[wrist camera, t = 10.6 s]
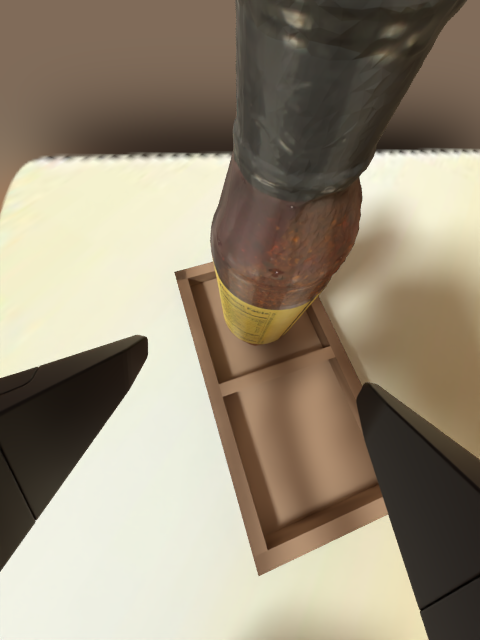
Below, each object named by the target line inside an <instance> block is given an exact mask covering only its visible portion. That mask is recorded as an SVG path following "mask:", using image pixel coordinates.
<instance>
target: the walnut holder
mask: <svg viewBox="0 0 480 640" xmlns="http://www.w3.org/2000/svg"><path fill="white" fill-rule="evenodd" d="M175 276H176V280H177V283H178V287H179V290H180V294H181V298H182V301H183V305H184V309H185V312H186V316H187V319H188V323H189V327H190V330H191V334H192V337H193V341H194V345H195V348H196V352H197V355H198V359H199V363H200V366H201V370H202V373H203V377H204V381H205V384H206V388H207V391H208V395H209V399H210V402H211V406H212V410H213V413H214V417H215V420H216V424H217V428H218V431H219V435H220V438H221V442H222V446H223V449H224V453H225V456H226V460H227V464H228V467H229V471H230V474H231V478H232V482H233V485H234V489H235V492H236V496H237V500H238V503H239V507H240V511H241V514H242V518H243V521H244V525H245V529H246V532H247V536H248V539H249V543H250V547H251V550H252V554H253V557H254V561H255V565H256V568H257V572H258V575H259V576H260V575H262V574H264V573H266V572H268V571H271V570H273V569H275V568H277V567H279V566H281V565H283V564H285V563H287V562H289V561H291V560H294V559H296V558H298V557H300V556H302V555H304V554H306V553H308V552H310V551H312V550H314V549H317V548H319V547H321V546H323V545H325V544H327V543H329V542H331V541H333V540H335V539H337V538H340V537H342V536H344V535H346V534H348V533H350V532H352V531H354V530H356V529H358V528H360V527H363V526H365V525H367V524H369V523H371V522H373V521H375V520H377V519H379V518H381V517H383V516H386V515H388V512H387V509H386V506H385V503H384V499H383V496H382V493H381V490H380V487H379V484H378V481H377V478H376V475H375V472H374V469H373V466H372V462H371V459H370V456H369V453H368V450H367V447H366V444H365V440H364V436H363V432H362V428H361V423H360V418H359V414H358V409H357V404H356V398H357V396H358V394H359V392H360V390H361V388H362V385H361V383H360V381H359V379H358V377H357V375H356V373H355V371H354V369H353V367H352V365H351V362H350V360H349V358H348V356H347V354H346V352H345V350H344V348H343V346H342V344H341V342H340V340H339V338H338V336H337V334H336V331H335V329H334V327H333V325H332V323H331V321H330V319H329V317H328V315H327V313H326V311H325V309H324V307H323V305H322V303H321V301H320V298H319V296H318V297H317V298H316V299H315V300H314V301H313V302H312V304H311V305H310V306H309V307H308V308H307V309H306V310H305V312H304V313H303V314H302V315H301V316H300V318H299V319H298V320H297V321H296V322H295V323H294V324H293V326H292V327H291V328H290V329H289V330H288V331H287V332H286V333H285V334H284V335H283V336H281V337H280V338H279V339H278V340H276V341H274V342H271V343H268V344H264V345H257V346H254V345H250V344H248V343H246V342H244V341H242V340H240V339H239V338H237V337H236V336H235V335H234V334H233V333H232V332H231V331H230V329H229V328H228V326H227V324H226V322H225V319H224V314H223V309H222V304H221V298H220V293H219V287H218V282H217V277H216V272H215V268H214V263H213V262H210V263H207V264H203V265H199V266H195V267H192V268H188V269H184V270H180V271H177V272H175Z"/></svg>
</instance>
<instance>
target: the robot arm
mask: <svg viewBox="0 0 480 640" xmlns="http://www.w3.org/2000/svg"><path fill="white" fill-rule="evenodd" d="M147 356H148V339H147V337H145V336H141V335H134V336H131V337H128V338H125V339H122V340H119V341H116V342H113V343H110V344H106V345H103V346H100V347H97V348H94V349H91V350H88V351H85V352H82V353H78V354H75V355H72V356H69V357H66V358H63V359H60V360H57V361H54V362H50V363H47V364H44V365H41V366H40V367H35V368H32V369H29V370H26V371H22V372H19V373H16V374H13V375H9V376H6V377H3V378H0V571H1V570H2V569H3V567H4V566H5V564H6V563H7V562H8V560H9V559H10V557H11V556H12V554H13V553H14V552H15V550H16V549H17V547H18V546H19V545H20V543H21V542H22V540H23V539H24V538H25V536H26V535H27V533H28V532H29V531H30V529H31V528H32V526H33V525H34V524H35V520H37V519H38V518H39V516H40V515H41V513H42V512H43V511H44V509H45V508H46V506H47V505H48V504H49V502H50V501H51V499H52V498H53V496H54V495H55V494H56V492H57V491H58V489H59V488H60V487H61V485H62V484H63V482H64V481H65V480H66V478H67V477H68V475H69V474H70V473H71V471H72V470H73V468H74V467H75V466H76V464H77V463H78V461H79V460H80V458H81V457H82V456H83V454H84V453H85V451H86V450H87V449H88V447H89V446H90V444H91V443H92V442H93V440H94V439H95V437H96V436H97V435H98V433H99V432H100V430H101V429H102V428H103V426H104V425H105V423H106V422H107V420H108V419H109V418H110V416H111V415H112V413H113V412H114V411H115V409H116V408H117V406H118V405H119V404H120V402H121V401H122V399H123V398H124V397H125V395H126V394H127V392H128V391H129V389H130V388H131V386H132V384H133V382H134V381H135V379H136V377H137V375H138V373H139V372H140V370H141V368H142V366H143V364H144V363H145V361H146V359H147ZM356 404H357V409H358V414H359V418H360V423H361V428H362V432H363V436H364V440H365V444H366V447H367V450H368V453H369V456H370V459H371V462H372V466H373V469H374V472H375V475H376V478H377V481H378V484H379V487H380V490H381V493H382V496H383V499H384V503H385V506H386V509H387V512H388V515H389V518H390V521H391V524H392V527H393V530H394V533H395V536H396V540H397V543H398V546H399V549H400V552H401V555H402V558H403V561H404V564H405V567H406V570H407V573H408V577H409V580H410V583H411V586H412V589H413V592H414V595H415V598H416V601H417V604H418V607H419V609H420V610H421V611H420V614H421V617H422V620H423V623H424V626H425V630H426V633H427V636H428V639H429V640H480V460H479V459H478V458H477V457H475V456H474V455H473V454H471V453H470V452H468V451H467V450H466V449H464V448H463V447H462V446H460V445H459V444H458V443H456V442H455V441H453V440H452V439H451V438H449V437H448V436H447V435H445V434H444V433H443V432H441V431H440V430H439V429H437V428H436V427H434V426H433V425H432V424H430V423H429V422H428V421H426V420H425V419H424V418H422V417H421V416H420V415H418V414H417V413H415V412H414V411H413V410H411V409H410V408H409V407H407V406H406V405H405V404H403V403H402V402H400V401H399V400H398V399H396V398H395V397H394V396H392V395H391V394H390V393H388V392H387V391H386V390H384V389H383V388H381V387H380V386H379V385H377V384H373V383H368V382H367V383H365V384H364V385H363V387H362V388H361V390H360V392H359V394H358V396H357V398H356Z"/></svg>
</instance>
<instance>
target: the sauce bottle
mask: <svg viewBox="0 0 480 640" xmlns="http://www.w3.org/2000/svg"><path fill="white" fill-rule="evenodd" d="M466 1H467V0H236V19H237V20H236V47H237V53H236V74H237V77H236V82H237V83H236V86H237V96H236V103H237V105H236V108H237V109H236V112H237V113H236V118H235V121H234V126H233V141H234V149H233V153H232V157H231V161H230V164H229V168H228V172H227V175H226V179H225V183H224V186H223V190H222V194H221V197H220V201H219V204H218V207H217V209H216V212H215V214H214V217H213V221H212V226H211V237H210V242H211V252H212V258H213V263H214V268H215V272H216V277H217V282H218V287H219V293H220V298H221V304H222V309H223V314H224V319H225V322H226V324H227V326H228V328H229V329H230V331H231V332H232V333H233V334H234V335H235V336H236V337H237V338H239V339H240V340H242V341H244V342H246V343H248V344H250V345H254V346H257V345H264V344H268V343H271V342H274V341H276V340H278V339H279V338H280V337H281V336H283V335H284V334H285V333H286V332H287V331H288V330H289V329H290V328H291V327H292V326H293V324H294V323H295V322H296V321H297V320H298V319H299V318H300V316H301V315H302V314H303V313H304V312H305V310H306V309H307V308H308V307H309V306H310V305H311V304H312V302H313V301H314V300H315V299H316V298H317V297H318V295H319V294H320V293H321V292H322V291H323V289H324V288H325V287H326V286H327V284H328V282H329V281H330V279H331V276H332V275H333V274H334V273H335V272H337V270H338V269H339V267H340V266H341V264H342V263H343V262H344V261H345V259H346V257H347V256H348V254H349V252H350V251H351V249H352V247H353V245H354V243H355V239H356V236H357V234H358V230H359V221H360V217H361V212H360V209H361V203H362V188H361V185H360V179H359V176H360V175H361V174H362V172H364V171H365V170H366V169H367V167H368V166H369V164H370V162H371V160H372V159H373V157H374V154H375V151H376V144H377V143H378V141H379V139H380V137H381V136H382V134H383V133H384V131H385V129H386V127H387V125H388V123H389V121H390V119H391V117H392V116H393V114H394V112H395V110H396V109H397V107H398V106H399V104H400V102H401V100H402V98H403V97H404V95H405V94H406V92H407V90H408V88H409V87H410V85H411V83H412V81H413V79H414V78H415V76H416V74H417V73H418V71H419V69H420V68H421V66H422V64H423V62H424V60H425V58H426V57H427V55H428V53H429V52H430V50H431V49H432V47H433V45H434V43H435V41H436V39H437V37H438V35H439V33H440V32H441V30H442V29H443V27H444V26H445V25H446V23H447V22H448V21H449V20H450V19H451V18H452V17H453V16H454V15H455V14H456V13H457V12H458V11H459V10H460V8H461V7H462V6H463V5H464V4H465V2H466Z"/></svg>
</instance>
